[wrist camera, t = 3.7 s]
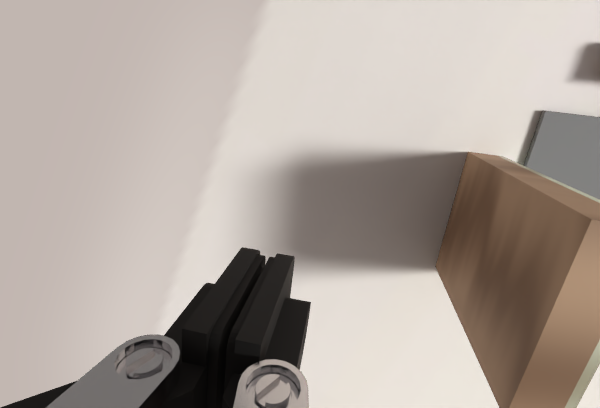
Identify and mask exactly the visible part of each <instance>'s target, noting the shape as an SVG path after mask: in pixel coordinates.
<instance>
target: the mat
mask: <svg viewBox="0 0 600 408" xmlns="http://www.w3.org/2000/svg"><path fill="white" fill-rule="evenodd" d="M524 166H525V167H528V168H530V169H532V170H534V171H536V172H539V173H541V174H543V175H545V176H548V177H550V178H552V179H554V180H557V181H559V182H561V183H563V184H566V185H568V186H570V187H572V188H574V189H577V190H579V191H581V192H583V193H586V194H588V195H590V196H592V197H595V198H597V199H599V200H600V117H593V116H585V115H576V114H568V113H560V112H551V111H542V114H541V117H540V120H539V123H538V126H537V128H536V131H535V134H534V137H533V140H532V143H531V146H530V149H529V152H528V155H527V157H526V160H525V163H524Z"/></svg>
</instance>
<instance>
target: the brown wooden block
mask: <svg viewBox="0 0 600 408" xmlns="http://www.w3.org/2000/svg"><path fill="white" fill-rule="evenodd" d="M435 267H436V269H437V271H438V273H439V276H440V278H441V280H442V282H443V284H444V287H445V289H446V291H447V293H448V295H449V298H450V300H451V302H452V304H453V306H454V309H455V311H456V313H457V315H458V317H459V320H460V322H461V324H462V326H463V328H464V331H465V333H466V335H467V337H468V339H469V342H470V344H471V346H472V348H473V350H474V353H475V355H476V357H477V359H478V361H479V364H480V366H481V368H482V370H483V372H484V375H485V377H486V379H487V381H488V383H489V386H490V388H491V390H492V392H493V394H494V397H495V399H496V401H497V403H498V405H499V408H576V407H577V405H578V404H579V402H580V400H581V398H582V396H583V394H584V392H585V390H586V388H587V387H588V385H589V383H590V381H591V379H592V377H593V375H594V373H595V372H596V370H597V368H598V366H599V364H600V200H599V199H597V198H595V197H592V196H590V195H588V194H586V193H583V192H581V191H579V190H577V189H574V188H572V187H570V186H568V185H566V184H563V183H561V182H559V181H557V180H554V179H552V178H550V177H548V176H545V175H543V174H541V173H539V172H536V171H534V170H532V169H530V168H528V167H525V166H523V165H521V164H519V163H516V162H514V161H512V160H510V159H507V158H505V157H502V156H495V155H487V154H480V153H473V152H468V153H467V157H466V160H465V164H464V168H463V171H462V175H461V178H460V182H459V185H458V189H457V192H456V196H455V199H454V203H453V206H452V210H451V213H450V217H449V220H448V224H447V227H446V231H445V235H444V238H443V242H442V245H441V249H440V252H439V256H438V259H437V263H436V266H435Z"/></svg>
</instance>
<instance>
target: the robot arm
mask: <svg viewBox="0 0 600 408" xmlns="http://www.w3.org/2000/svg"><path fill="white" fill-rule="evenodd" d="M293 268H294V256H288V255H283V254H277V255H276V257H275V258H273V257H269V259H268V261H267V263H266V265H265V256H262V255H260V251H259V250H254V249H248V248H241V249H240V251H239V252H238V253H237V255H236V256H235V257H234V259H233V260H232V261H231V263H230V264H229V266H228V267H227V268H226V270H225V271H224V272H223V274H222V275H221V276H220V278H219V279H218V280H217V282H216V283H215V284H211V283H206V284H205V285H204V286H203V287H202V288H201V289H200V291H199V292H198V293H197V295H196V296H195V297H194V298H193V300H192V301H191V302H190V303H189V305H188V306H187V307H186V308H185V310H184V311H183V312H182V313H181V315H180V316H179V317H178V319H177V320H176V321H175V322H174V324H173V325H172V326H171V327H170V329H169V330H168V331H167V332H166V334H165V335H164V336H162V335H144V336H140V337H136V338H133V339H131V340H128V341H126V342H125V343H124V344H122V345H120V346H119V347H117V348H116V349H115V350H114V351H112V352H111V353H110V354H109V355H108V356H106V357H105V358H104V359H103V360H102V361H101V362H99V363H98V364H97V365H96V366H95V367H93V368H92V369H91V370H90V371H89V372H87V373H86V374H85V375H84V376H83V377H81V378H80V379H79V380H78V381H76V382H73V383H70V384H67V385H64V386H61V387H58V388H55V389H52V390H50V391H47V392H44V393H41V394H38V395H35V396H32V397H29V398H27V399H24V400H21V401H18V402H15V403H12V404H9V405H7V406H4V407H1V408H309V398H308V385H307V381H306V379H305V377H304V375H303V374H302V372H301V371H300V365H301V359H302V354H303V349H304V343H305V338H306V332H307V325H308V319H309V312H310V304H311V302H307V301H301V300H296V299H291V298H290V293H291V285H292V276H293Z"/></svg>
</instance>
